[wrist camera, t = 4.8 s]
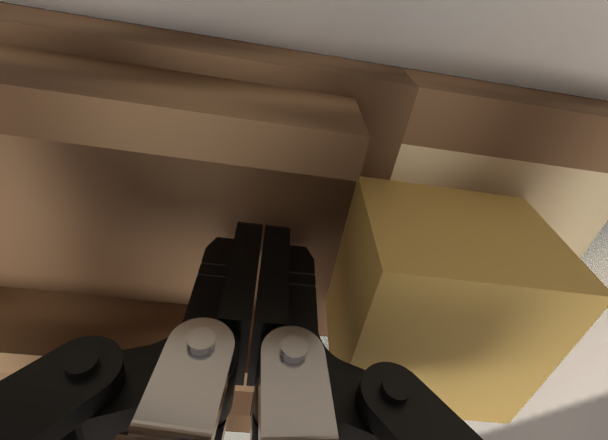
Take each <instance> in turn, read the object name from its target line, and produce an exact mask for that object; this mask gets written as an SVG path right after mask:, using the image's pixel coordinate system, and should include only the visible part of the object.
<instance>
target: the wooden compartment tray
mask: <svg viewBox="0 0 608 440" xmlns="http://www.w3.org/2000/svg"><path fill="white" fill-rule="evenodd" d="M0 44H5V45H11V46H18V47H24V48H31V49H37V50H44V51H51V52H57V53H64V54H70V55H77V56H83V57H90V58H96V59H103V60H109V61H116V62H122V63H129V64H135V65H142V66H148V67H155V68H161V69H168V70H174V71H181V72H187V73H194V74H200V75H207V76H213V77H220V78H226V79H233V80H239V81H246V82H252V83H259V84H265V85H272V86H279V87H285V88H292V89H298V90H305V91H311V92H318V93H324V94H331V95H337V96H344V97H350V98H355V99H356V102H357V104H358V107H359V109H360V112H361V114H362V117H363V119H364V122H365V124H366V127H367V129H368V132H369V135H370V141H369V145H368V149H367V152H366V156H365V160H364V164H363V167H362V171H361V175H360V176H363V177H370V178H378V179H385V180H393V181H400V182H408V183H415V184H423V185H430V186H438V187H445V188H453V189H460V190H468V191H475V192H483V193H490V194H497V195H505V196H512V197H520V198H525V199H526V201H527V202H528V203H529V204H530V205H531V206H532V207H533V208H534V209H535V210H536V211H537V212H538V214H539V215H540V216H541V217H542V218H543V219H544V220H545V221H546V222H547V223H548V224H549V226H550V227H551V228H552V229H553V230H554V231H555V232H556V233H557V234H558V235H559V236H560V237H561V239H562V240H563V241H564V242H565V243H566V244H567V245H568V246H569V247H570V248H571V249H572V250H573V252H574V253H575V254H576V255H577V256H578V257H579V258H581V257H582V255H583V254H584V253H585V251H586V250H587V249H588V247H589V246H590V244H591V243H592V242H593V240H594V239H595V237H596V236H597V235H598V233H599V232H600V230H601V229H602V228H603V226H604V225H605V224H606V222H607V221H608V101H602V100H596V99H590V98H584V97H578V96H572V95H566V94H560V93H553V92H547V91H541V90H535V89H529V88H523V87H517V86H510V85H504V84H498V83H492V82H486V81H480V80H474V79H468V78H461V77H455V76H449V75H443V74H437V73H431V72H425V71H419V70H412V69H406V68H400V67H394V66H388V65H382V64H376V63H370V62H363V61H357V60H351V59H345V58H339V57H333V56H327V55H320V54H314V53H308V52H302V51H296V50H290V49H284V48H278V47H271V46H265V45H259V44H253V43H247V42H241V41H235V40H229V39H222V38H216V37H210V36H204V35H198V34H192V33H186V32H179V31H173V30H167V29H161V28H155V27H149V26H143V25H137V24H130V23H124V22H118V21H112V20H106V19H100V18H94V17H88V16H81V15H75V14H69V13H63V12H57V11H51V10H45V9H38V8H32V7H26V6H20V5H14V4H8V3H2V2H0ZM356 182H357V181H351V180H343V179H336V178H328V177H321V176H313V175H306V174H298V173H290V172H283V171H275V170H268V169H260V168H253V167H245V166H238V165H230V164H223V163H215V162H208V161H200V160H192V159H185V158H177V157H170V156H162V155H155V154H147V153H140V152H132V151H125V150H117V149H110V148H102V147H94V146H87V145H79V144H72V143H64V142H57V141H49V140H42V139H34V138H27V137H19V136H12V135H4V134H0V286H3V287H13V288H23V289H34V290H44V291H54V292H65V293H75V294H85V295H95V296H106V297H116V298H126V299H136V300H147V301H157V302H167V303H177V304H188V303H189V300H190V297H191V293H192V290H193V287H194V284H195V281H196V277H197V275H198V271H199V268H200V264H201V262H202V258H203V255H204V252H205V248H206V247H207V246H208V245H209V244H210V243H211V242H212V241H213V240H214V239H215V238H216V237H222V238H231V239H234V237H235V232H236V228H237V223H238V222H247V223H255V224H263V230H262V239H261V247H260V256H259V264H258V272H257V281H256V289H255V297H254V305H253V311H255V306H256V298H257V289H258V281H259V272H260V264H261V256H262V248H263V240H264V232H265V225H273V226H281V227H290V245H294V246H302V247H307V249H308V250H309V252H310V254H311V255H312V257H313V258H314V264H315V281H316V286H315V287H316V299H317V316H318V331H319V336H328V327H327V313H326V297H327V293H328V289H329V285H330V282H331V278H332V274H333V270H334V266H335V262H336V258H337V255H338V251H339V247H340V243H341V239H342V235H343V232H344V228H345V224H346V220H347V216H348V212H349V209H350V205H351V201H352V197H353V193H354V189H355V185H356ZM11 374H12V373H0V380H2V379H4V378H6V377H7V376H9V375H11ZM253 396H254V392H245V391H234V397H233V404H232V408H231V411H230V413H229V416H228V421H227V426H226V430H225V431H230V432H245V433H250V422H251V413H252V406H253ZM463 421H464V420H463Z"/></svg>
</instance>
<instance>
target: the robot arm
mask: <svg viewBox="0 0 608 440" xmlns="http://www.w3.org/2000/svg"><path fill="white" fill-rule="evenodd" d="M262 230H263V224H255V223H247V222H238V223H237V228H236V232H235V237H234V239H231V238H222V237H216V238H215V239H214V240H213V241H212V242H211V243H210V244H209V245H208V246H207V247H206V248H205V252H204V255H203V258H202V262H201V264H200V268H199V271H198V275H197V277H196V281H195V284H194V287H193V290H192V293H191V297H190V300H189V303H188V306H187V309H186V313H185V316H184V319H183V321H182V323H181V324H180V325H178V326H177V327H176V328H175V329H174V330H173V331H172V332H171V334H170V335H169V336H168V337H167V338H165V339H163V340H161V341H159V342H157V343H154V344H151V345H146V346H141V347H136V348H131V349H125V350H121V348H120V346H119V345H118V344H117V343H116V342H115V341H113V340H112V339H110V338H107V337H103V336H84V337H80V338H76V339H74V340H71V341H69V342H67V343H65V344H63V345H61V346H59V347H58V348H56V349H54V350H52V351H51V352H49V353H47V354H45V355H44V356H42V357H40V358H39V359H37V360H35V361H33V362H32V363H30V364H28V365H26V366H25V367H23V368H21V369H19V370H18V371H16V372H14V373H12V374H11V375H9V376H7V377H6V378H4V379H2V380H0V440H223V439H224V435H225V430H226V426H227V421H228V416H229V413H230V411H231V408H232V404H233V397H234V390H235V385H241V386H244V378H245V370H246V362H247V353H248V345H249V337H250V329H251V321H252V313H253V305H254V297H255V289H256V281H257V272H258V264H259V256H260V247H261V239H262ZM315 286H316V281H315V264H314V258H313V257H312V255H311V254H310V252H309V250H308V249H307V247H302V246H294V245H290V227H281V226H273V225H265V232H264V240H263V248H262V256H261V264H260V272H259V281H258V289H257V298H256V306H255V315H254V323H253V332H252V340H251V349H250V357H249V366H248V374H247V383H246V386H254V396H253V406H252V413H251V422H250V440H483V439H482V438H481V437H480V436H479V435H478V434H477V433H476V432H475V431H474V430H473V429H472V428H470V427H469V426H468V425H467V424H466V423H465V422H464V421H463V420H462V419H461V418H460V417H459V416H458V415H457V414H456V413H455V412H454V411H453V410H452V409H451V408H449V407H448V406H447V405H446V404H445V403H444V402H443V401H442V400H441V399H440V398H439V397H438V396H437V395H436V394H435V393H434V392H433V391H432V390H431V389H430V388H428V387H427V386H426V385H425V384H424V383H423V382H422V381H421V380H420V379H419V378H418V377H417V376H416V375H415V374H414V373H412V372H411V371H410V370H408V369H407V368H405V367H403V366H401V365H399V364H396V363H392V362H378V363H375V364H373V365H371V366H369V367H368V368H367V369H366V370H364V369H362V368H359V367H357V366H354V365H352V364H349V363H347V362H344V361H342V360H340V359H338V358H337V357H335V356H334V355H333V354H331V353H330V352H329V351H328V350H327V349H326V347H325V346H324V345H323V343H322V341H321V339H320V336H319V331H318V316H317V299H316V287H315Z"/></svg>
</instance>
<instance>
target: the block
mask: <svg viewBox="0 0 608 440" xmlns="http://www.w3.org/2000/svg"><path fill="white" fill-rule="evenodd" d="M607 307H608V288H607V287H606V286H605V285H604V284H603V283H602V282H601V281H600V280H599V279H598V278H597V277H596V275H595V274H594V273H593V272H592V271H591V270H590V269H589V268H588V267H587V266H586V265H585V264H584V262H583V261H582V260H581V259H580V258H579V257H578V256H577V255H576V254H575V253H574V252H573V250H572V249H571V248H570V247H569V246H568V245H567V244H566V243H565V242H564V241H563V240H562V239H561V237H560V236H559V235H558V234H557V233H556V232H555V231H554V230H553V229H552V228H551V227H550V226H549V224H548V223H547V222H546V221H545V220H544V219H543V218H542V217H541V216H540V215H539V214H538V212H537V211H536V210H535V209H534V208H533V207H532V206H531V205H530V204H529V203H528V202H527V201H526V199H525V198H520V197H512V196H505V195H497V194H490V193H483V192H475V191H468V190H460V189H453V188H445V187H438V186H430V185H423V184H415V183H408V182H400V181H393V180H385V179H378V178H370V177H363V176H360V179H359V182H358V181H357V182H356V185H355V189H354V193H353V197H352V201H351V205H350V209H349V212H348V216H347V220H346V224H345V228H344V232H343V235H342V239H341V243H340V247H339V251H338V255H337V258H336V262H335V266H334V270H333V274H332V278H331V282H330V285H329V289H328V293H327V297H326V313H327V327H328V341H329V352H330V353H331V354H333V355H334V356H335V357H337V358H338V359H340V360H342V361H344V362H347V363H349V364H352V365H354V366H357V367H359V368H362V369H364V370H366V369H367V368H368V367H369V366H371V365H373V364H375V363H378V362H392V363H396V364H399V365H401V366H403V367H405V368H407V369H408V370H410V371H411V372H412V373H414V374H415V375H416V376H417V377H418V378H419V379H420V380H421V381H422V382H423V383H424V384H425V385H426V386H427V387H428V388H430V389H431V390H432V391H433V392H434V393H435V394H436V395H437V396H438V397H439V398H440V399H441V400H442V401H443V402H444V403H445V404H446V405H447V406H448V407H449V408H451V409H452V410H453V411H454V412H455V413H456V414H457V415H458V416H459V417H460V418H461V419H462V420H470V421H483V422H496V423H510V422H511V420H512V419H513V418H514V417H515V416H516V415H517V413H518V412H519V411H520V410H521V409H522V407H523V406H524V405H525V404H526V403H527V402H528V400H529V399H530V398H531V397H532V396H533V394H534V393H535V392H536V391H537V390H538V389H539V387H540V386H541V385H542V384H543V383H544V382H545V380H546V379H547V378H548V377H549V376H550V374H551V373H552V372H553V371H554V370H555V369H556V367H557V366H558V365H559V364H560V363H561V361H562V360H563V359H564V358H565V357H566V356H567V354H568V353H569V352H570V351H571V350H572V349H573V347H574V346H575V345H576V344H577V343H578V341H579V340H580V339H581V338H582V337H583V336H584V334H585V333H586V332H587V331H588V330H589V328H590V327H591V326H592V325H593V324H594V323H595V321H596V320H597V319H598V318H599V317H600V316H601V314H602V313H603V312H604V311H605V310H606V308H607Z"/></svg>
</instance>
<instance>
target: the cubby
mask: <svg viewBox="0 0 608 440" xmlns="http://www.w3.org/2000/svg"><path fill="white" fill-rule="evenodd" d="M0 134H4V135H12V136H19V137H27V138H34V139H42V140H49V141H57V142H64V143H72V144H79V145H87V146H94V147H102V148H110V149H117V150H125V151H132V152H140V153H147V154H155V155H162V156H170V157H177V158H185V159H192V160H200V161H208V162H215V163H223V164H230V165H238V166H245V167H253V168H260V169H268V170H275V171H283V172H290V173H298V174H306V175H313V176H321V177H328V178H336V179H343V180H351V181H358V182H359V179H360V175H361V171H362V167H363V164H364V160H365V156H366V152H367V149H368V145H369V141H370V135H369V132H368V129H367V127H366V124H365V122H364V119H363V117H362V114H361V112H360V109H359V107H358V104H357V102H356V99H355V98H350V97H344V96H337V95H331V94H324V93H318V92H311V91H305V90H298V89H292V88H285V87H279V86H272V85H265V84H259V83H252V82H246V81H239V80H233V79H226V78H220V77H213V76H207V75H200V74H194V73H187V72H181V71H174V70H168V69H161V68H155V67H148V66H142V65H135V64H129V63H122V62H116V61H109V60H103V59H96V58H90V57H83V56H77V55H70V54H64V53H57V52H51V51H44V50H37V49H31V48H24V47H18V46H11V45H5V44H0ZM187 306H188V304H177V303H167V302H157V301H147V300H136V299H126V298H116V297H106V296H95V295H85V294H75V293H65V292H54V291H44V290H34V289H23V288H13V287H3V286H0V373H14V372H16V371H18V370H19V369H21V368H23V367H25V366H26V365H28V364H30V363H32V362H33V361H35V360H37V359H39V358H40V357H42V356H44V355H45V354H47V353H49V352H51V351H52V350H54V349H56V348H58V347H59V346H61V345H63V344H65V343H67V342H69V341H71V340H74V339H76V338H80V337H84V336H103V337H107V338H110V339H112V340H113V341H115V342H116V343H117V344H118V345H119V346H120V348H121V350H125V349H131V348H136V347H141V346H146V345H151V344H154V343H157V342H159V341H161V340H163V339H165V338H167V337H168V336H169V335H170V334H171V332H172V331H173V330H174V329H175V328H176V327H177V326H178V325H180V324H181V323H182V321H183V319H184V316H185V313H186V309H187ZM254 315H255V311H253V313H252V321H251V329H250V337H249V345H248V353H247V362H246V370H245V378H244V386H241V385H235V390H234V391H245V392H254V386H246V383H247V374H248V366H249V357H250V349H251V340H252V332H253V323H254Z"/></svg>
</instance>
